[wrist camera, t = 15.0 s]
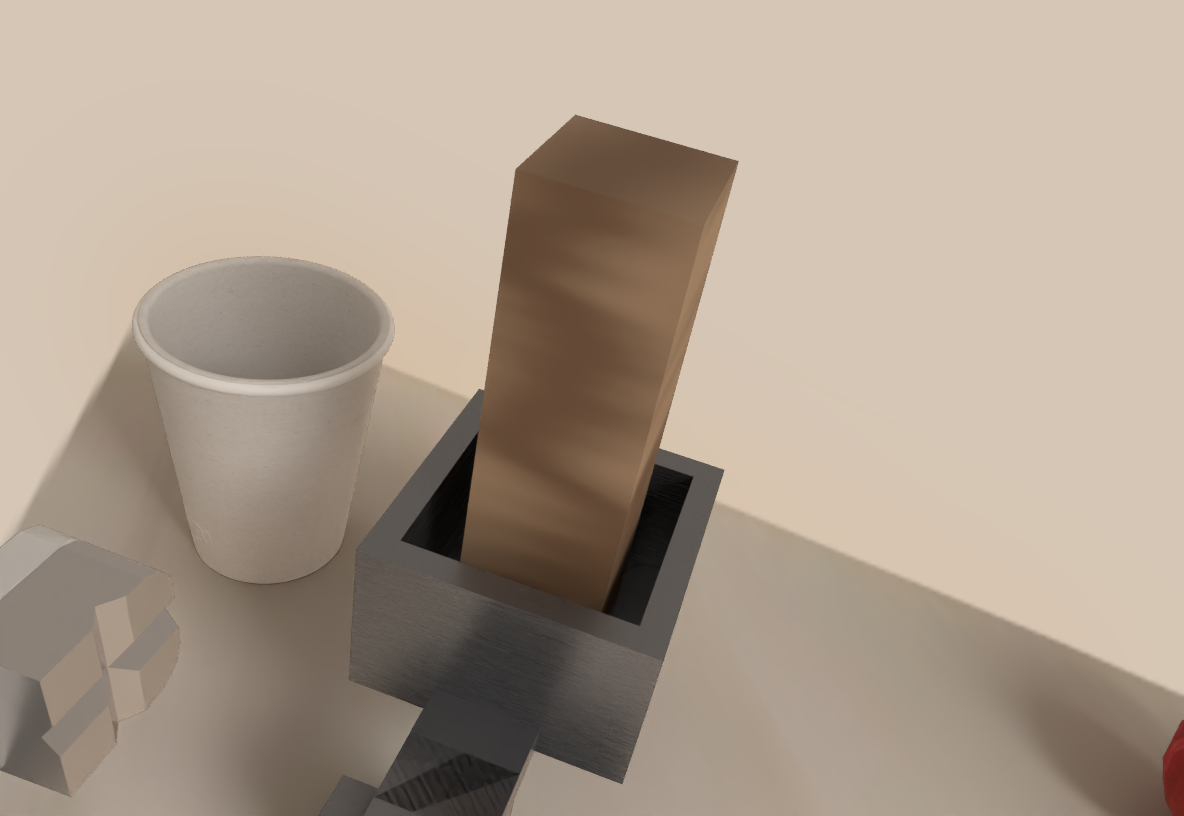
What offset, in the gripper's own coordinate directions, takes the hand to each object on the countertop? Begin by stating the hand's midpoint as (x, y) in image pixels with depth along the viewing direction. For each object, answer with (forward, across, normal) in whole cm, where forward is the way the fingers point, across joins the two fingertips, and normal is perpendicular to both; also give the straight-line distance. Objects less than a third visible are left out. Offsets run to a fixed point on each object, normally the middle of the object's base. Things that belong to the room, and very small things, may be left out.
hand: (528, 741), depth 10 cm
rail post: (+14, +3, +14) cm, 20 cm away
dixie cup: (+19, +16, +20) cm, 32 cm away
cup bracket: (+11, +3, +20) cm, 23 cm away
